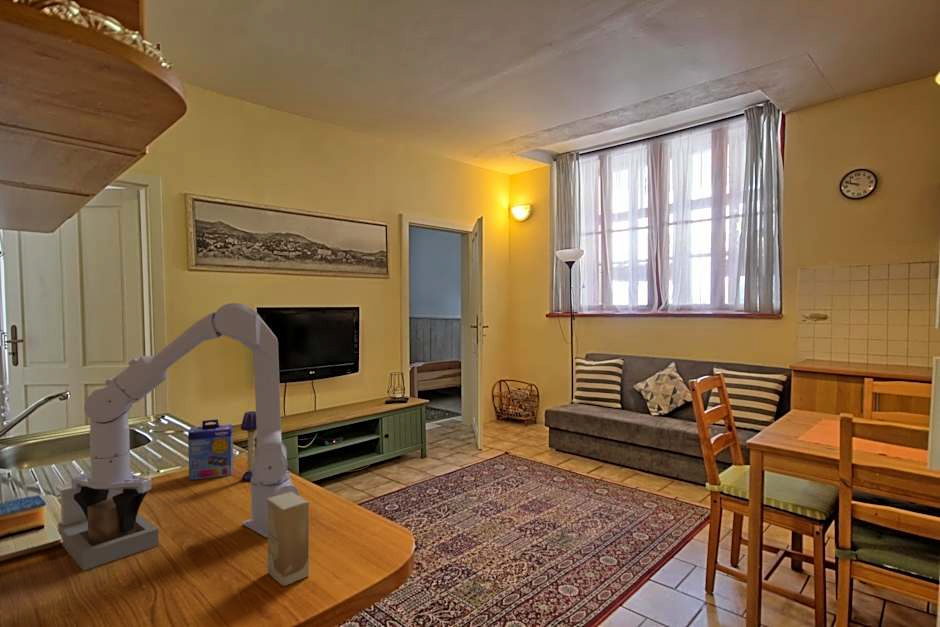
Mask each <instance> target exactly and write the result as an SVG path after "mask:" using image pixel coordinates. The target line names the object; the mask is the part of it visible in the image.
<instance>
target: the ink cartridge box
mask: <svg viewBox="0 0 940 627" xmlns="http://www.w3.org/2000/svg"><path fill="white" fill-rule="evenodd" d="M201 422H202V424H201V425H202V426H193V427H190V429H189V431H188V435H187V436H188V437H187V438H188V440H187V441H188V442H187V444H188V448H187V449H188V481H195V480H204V479H212V478H220V477H221V478H222V477H230V476H232V475H233V473H234V448H233V447H234V446H233V445H234V444H233V440H234V437H233V436H234V434H233V424H231V423H228V424H220V423H219V419H208V420H205V419H204V420H202V421H201ZM208 423H209V424H208ZM210 423H211V424H210Z"/></svg>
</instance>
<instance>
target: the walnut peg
mask: <svg viewBox="0 0 940 627" xmlns="http://www.w3.org/2000/svg"><path fill="white" fill-rule="evenodd" d="M87 510H88V543H89V544H90V545H91V546H95V545H98V544H101V543H104V542H108V541H111V540H114V539H117V538H120V537H124V536H127V535H130V534H133V533H136V520H135V524H134V528H133V529H132V530H130V531H128V532H126V533H121V531H120V526H119V515H118V511H117V508H116V505H115V503H114V501H113V499H112V498H110V499H107V500H104V501H102V502H99V503H96V504H94V505H91V506H88V507H87Z"/></svg>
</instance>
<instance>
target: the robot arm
mask: <svg viewBox="0 0 940 627" xmlns="http://www.w3.org/2000/svg"><path fill="white" fill-rule="evenodd" d="M223 336H225V337H227V338H230V339H232V340H235V341H238V342H240V343H241V344H242V345H243V346H245V347H246V348H248V349H249V350H250V351H252V353H253V368H254V391H255V392H254V394H255V398H254V399H255V411H256V426H257V430H256V448H255V452H254V462H253V464H252V474H253V476H252V477H251V481H250V497H251V498H250V499H251V500H250V503H251V506H250V507H251V508H250V512H251V518H250V519H247V520H244V521H242V525H243V526H245V527H247V528H249V529H250V530H252V531H254V532H256V533H258V534H259V535H261V536H262V537H265V538H268V506H267V499H268V498H271V497H274V496H278V495H281V494H285V493H288V492H293V493H295V494H296V495H298V496H300V492H299V490H298V488H297V487H296V486H295V485H294V484H293V483H292V480H291V472H290V471H289V470H288V467H289V466H288V459H287V456H288V449H287V447H286V445H285V444H284V442H283V439H282V418H281V416H282V415H281V389H280V388H281V387H280V363H279V362H280V360H279V341H278V340H279V339H278V337H277V336H276V335H275V334H274V332H273V331H272V329H271V328H270V327H269V326H268V325H267V323H266V322H265V321H264V320H263V319H262V317H261V316H260V314H259V313H258V312H256V311H255V310H254V309H252V308H250V307H249V306H247V305H246V304H243V303H239V302H237V303H236V302H235V303H234V302H231V303H226V304H224V305H222V306H220V307H219V308H218V309H217V310H216V311H213V312H211V313H209V314H207V315H205V316H203V317H202V318H200V319H199V320H198V321H196V322H195V323H193V324H192V325H191V326H190V327H189V328H187V329H186V330H184V331H183V333H181V334H180V335H179V336H178V337H176V338H175V339H174V340H173V341H172V342H170V343H169V344H168V345H166V347H164V348H163V349H161V351H159V352H158V353H157V354H155V355H142V356H141V357H139V358H137V357H134V358H132V359H131V360H130V361H128V365H129V366H127V368H125V369H124V370H122V371H121V372H120V373H119V374H117V375H116V376H115V377H109V378H108V379H106V380H105V381H104V382H105V383H104V384H106V386H105V387H103V388H101V387H100V388H98V389H96V390H95V389H94V390H93V391H92V392H91V393H90V395H89V396H88V397H87V398H86V399H85V402H84V405H83V410H84V413H85V415H86V416H87V417H88V418H89V426H90V428H89V448H90V449H89V451H90V452H89V453H90V454H89V455H90V474H80V475H77V476H74V477H72V478H71V482H70V483H72V489H79V488H81V490H80V492H79V493H77V494H75V495H74V500H75V501H76V502H77V503H78V504H79V505H80V507H81V508H82V510H83V512H84V514H85V516H86V518H87V521H88V510H87V507H88V506H91V505H94V504H96V503H99V502H102V501H104V500H107V496H108V492H109V490H123V493H120V494H118V495H115V496H113V497H112V499H113V501H114V503H115V505H116V508H117V511H118V515H119V526H120V531H121V533H126V532H128V531H130V530H132V529H133V528H134V524H135V520H136V516H137V513H138V514H139V510H140V508H141V506H142V503H143V501H144V498H145V497H146V495H147V494H148V492H149V491H150V490H152V478H149V477H148V478H147V477H143V476H139V475H136V474H134V471H131V456H130V455H131V452H130V451H131V446H130V445H131V442H130V441H131V440H130V425H129V410H131V408H132V406H133V404H135V403H138V402H139V401H140V400H142V399H143V398H145V396H147V395H148V394H149V393H150V392H152V391H153V390H154V389H156V388H157V387H158V386H159V385H161V384H162V383H163V382H165V381H166V380H167V378H168V370H169V368H170V367H172V366H173V365H174V364H175V363H176V362H178V361H179V360H181V359H182V358H183V357H184V356H186V355H187V354H188V353H191V351H193V350H194V349H195V348H197V347H199V345H201V344H202V343H203V342H206V341H210V340H215V339H218V338H220V337H223ZM300 497H301V496H300Z"/></svg>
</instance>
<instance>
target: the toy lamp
mask: <svg viewBox="0 0 940 627" xmlns="http://www.w3.org/2000/svg"><path fill="white" fill-rule="evenodd" d="M240 430H241V431H245V432H247V456H246V457H247V461H246V462H247V467H246V468H247V469H246V472H244V473H243V475H242V477H241V480H242V481H243V482H251V477H252V476H253V474H252V464H253V462H254V453H255V450H256V448H255V446H256V441H255V440H256V435H255V433H256V431H257V426H256V410H255V411H253V410H251V411H246V412H244V415H243V418H242V421H241V425H240Z"/></svg>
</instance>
